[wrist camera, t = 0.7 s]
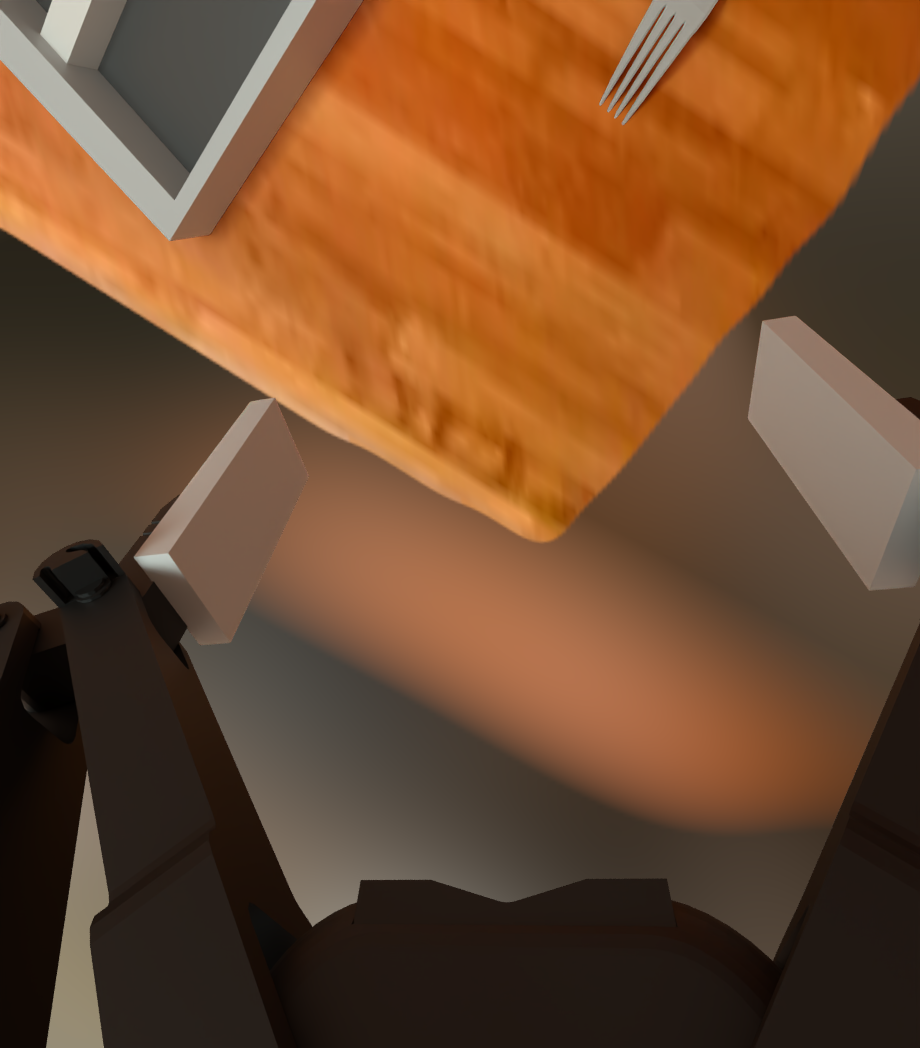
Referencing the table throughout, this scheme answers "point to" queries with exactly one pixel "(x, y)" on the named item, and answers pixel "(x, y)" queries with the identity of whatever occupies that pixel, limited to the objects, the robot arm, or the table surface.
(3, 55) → the track
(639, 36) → the fork
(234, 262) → the table surface
